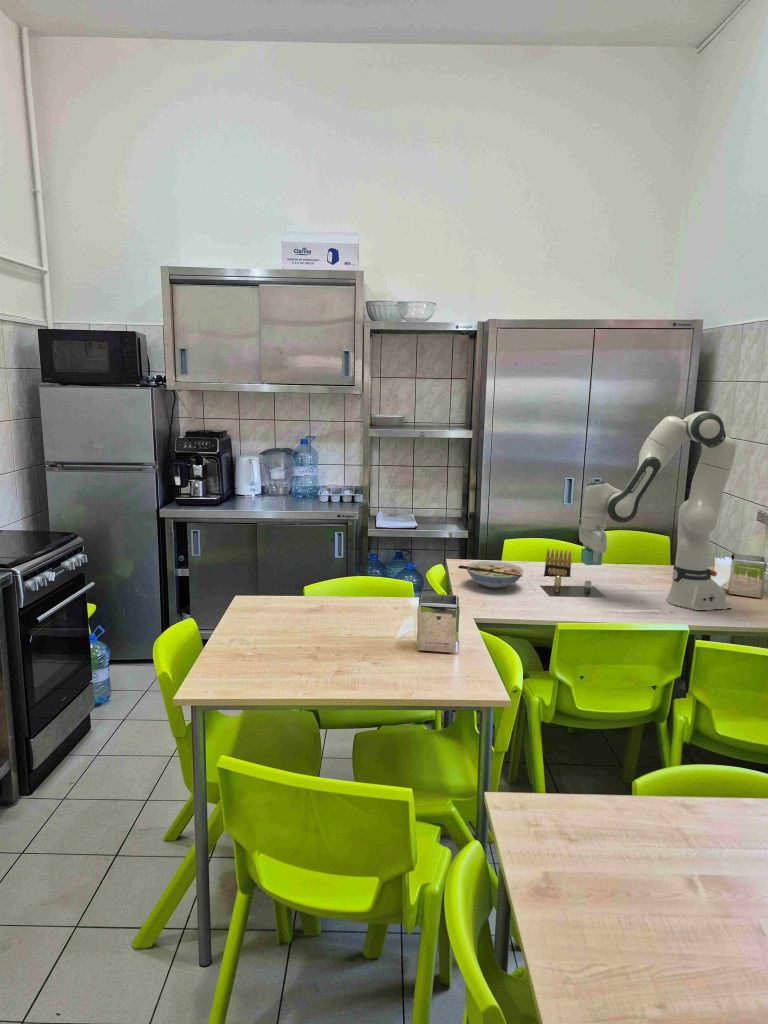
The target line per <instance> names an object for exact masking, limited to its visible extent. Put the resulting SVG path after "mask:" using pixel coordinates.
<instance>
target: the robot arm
mask: <svg viewBox="0 0 768 1024" xmlns="http://www.w3.org/2000/svg"><path fill="white" fill-rule="evenodd" d="M689 440H692V441H693V442H696V443H700V444H701V454H700V457H699V459H698V462H697V466H696V468H695V472H694V474H693V477H692V481H691V486H690V491H689V495H688V499H687V500H685V501H683V503H682V504H680V507H679V509H678V517H677V547H676V554H675V562H674V563H675V564H674V565H673V568H672V569H673V570H672V583H671V584H670V585H671V586H670V589H669V593H668V595H667V597H666V602H668V603H670V604H671V605H674V606H676V605H677V606H676V607H680V606H681V608H685V607H687V608H686V609H690V608H691V609H690V610H693V609H694V610H693V611H696V610H707V611H716V610H715V609H723V610H727V609H726V608H731V607H732V603H730V602H728V600H726V599H727V598H726V592H725V589H724V588H723V587H721V585H719V584H718V583H717V582H716V581H715V580H714V579H713V578H712V577H714V578H715V577H717V571H715V570H713V569H712V570H711V569H710V568H708V566H709V559H710V558H709V556H710V552H711V551H710V548H711V547H710V545H711V544H710V533H712V532H713V531H714V530H715V529H716V527H717V525H718V518H719V515H720V510H721V505H722V500H723V495H724V491H725V488H726V486H727V481H728V479H729V476H730V473H731V470H732V468H733V464H734V462H735V457H736V450H737V449H736V448H737V444H736V441H735V440H734V439H733V438H731V437H730V436H728V435H726V430H725V425H724V421H723V420H722V418H721V417H720V416H719V415H717V414H715V413H713V412H710V411H708V410H707V411H705V410H703V411H702V410H701V411H693V412H692V413H689V414H687V415H685V416H683V417H682V418H680V417H678V416H675V415H668V416H665V417H664V418H662V420H661V421H659V423H658V424H657V425H656V426H655V427H654V429H653V430H652V431H651V432H650V434H649V435H648V437H647V438H646V439H645V441H644V442H643V444H642V446H641V448H640V451H639V453H638V464H637V469H636V471H635V473H634V475H633V476H632V477H631V479H630V481H629V482H628V484H627V486H626V487H625V488H624V490H621V489H618V488H616V487H614V486H612V485H611V484H609V483H608V482H606V481H604V480H598V481H596V480H595V481H591V482H589V483H588V484H587V485H586V487H585V489H584V495H583V501H582V502H583V503H582V505H583V512H582V517H580V518H578V524H579V527H578V539H579V542H581V544H584V549H592V550H593V553H594V554H593V556H592V561H594V562H597V561H598V557H599V554H600V553H602V554H605V553H606V552H607V546H608V545H607V541H608V539H607V538H608V537H607V533H606V532H605V531H604V530H606V528H607V518H608V517H607V516H609V517H610V519H611V520H613V521H614V522H615V523H622V524H623V523H628V522H630V521H632V520H633V519H634V518H635V517H636V515H637V513H638V509H639V504H640V500H641V499H642V497H643V495H644V494H645V492H646V491H647V489H649V488H648V487H649V486H650V485H651V483H652V482H653V481H654V479H655V478H656V476H657V475H658V474H659V473H660V472H661V471H662V469H663V468H664V467H665V466H666V465H667V463H668V462H670V460H671V459H672V458H673V456H674V455H675V453H676V452H677V451H678V449H679V447H680V446H681V445H682V444H683V443H684V442H685V441H689ZM711 576H712V577H711ZM713 609H714V610H713ZM731 609H732V608H731Z"/></svg>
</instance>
